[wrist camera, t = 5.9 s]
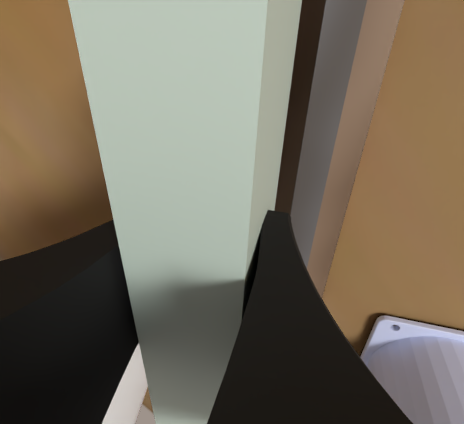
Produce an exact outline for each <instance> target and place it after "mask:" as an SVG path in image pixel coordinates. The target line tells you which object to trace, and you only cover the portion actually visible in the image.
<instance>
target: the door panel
mask: <svg viewBox="0 0 464 424" xmlns="http://www.w3.org/2000/svg"><path fill="white" fill-rule="evenodd" d="M68 2H69V7H70V12H71V17H72V22H73V27H74V31H75V36H76V41H77V46H78V51H79V56H80V60H81V65H82V70H83V75H84V80H85V85H86V89H87V94H88V99H89V104H90V109H91V114H92V118H93V123H94V128H95V133H96V138H97V143H98V147H99V152H100V157H101V162H102V167H103V171H104V176H105V181H106V186H107V191H108V196H109V200H110V205H111V210H112V215H113V220H114V225H115V229H116V234H117V239H118V244H119V249H120V254H121V258H122V263H123V268H124V273H125V278H126V283H127V287H128V292H129V297H130V302H131V307H132V311H133V316H134V321H135V326H136V331H137V336H138V340H139V345H140V350H141V355H142V360H143V365H144V369H145V374H146V379H147V384H148V389H149V394H150V398H151V403H152V408H153V413H154V418H155V422H156V424H207V422H208V419H209V416H210V414H211V411H212V408H213V405H214V402H215V399H216V397H217V394H218V391H219V388H220V385H221V383H222V380H223V377H224V374H225V371H226V368H227V365H228V362H229V359H230V356H231V353H232V350H233V347H234V344H235V341H236V338H237V335H238V332H239V329H240V326H241V322H242V319H243V316H244V313H245V309H246V306H247V303H248V300H249V296H250V293H251V289H252V286H253V283H254V279H255V276H256V270H257V265H258V257H259V248H260V240H261V231H262V224H263V221H264V218H265V215H266V213H267V211H268V210H272V211H274V210H275V202H276V194H277V187H278V179H279V172H280V164H281V156H282V149H283V141H284V133H285V126H286V118H287V111H288V103H289V95H290V88H291V80H292V73H293V65H294V57H295V50H296V42H297V34H298V27H299V19H300V12H301V4H302V0H68Z"/></svg>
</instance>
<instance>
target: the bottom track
mask: <svg viewBox="0 0 464 424" xmlns="http://www.w3.org/2000/svg"><path fill="white" fill-rule="evenodd" d="M404 1H405V0H302V4H301V12H300V19H299V27H298V34H297V42H296V50H295V57H294V65H293V73H292V80H291V88H290V95H289V103H288V111H287V118H286V126H285V133H284V141H283V149H282V156H281V164H280V172H279V179H278V187H277V194H276V202H275V210H274V211H279V212H285V213H288V214H289V215H290V216H291V223H292V228H293V232H294V236H295V239H296V242H297V245H298V248H299V251H300V253H301V256H302V259H303V261H304V264H305V266H306V268H307V271H308V273H309V275H310V277H311V279H312V281H313V283H314V285H315V287H316V289H317V291H318V293H319V295H320V297H321V298H322V296H323V292H324V289H325V285H326V282H327V278H328V274H329V271H330V267H331V264H332V260H333V256H334V253H335V249H336V246H337V242H338V238H339V235H340V231H341V228H342V224H343V220H344V217H345V213H346V210H347V206H348V202H349V199H350V195H351V192H352V188H353V184H354V181H355V177H356V174H357V170H358V166H359V163H360V159H361V156H362V152H363V148H364V145H365V141H366V138H367V134H368V130H369V127H370V123H371V120H372V116H373V112H374V109H375V105H376V102H377V98H378V94H379V91H380V87H381V84H382V80H383V76H384V73H385V69H386V66H387V62H388V58H389V55H390V51H391V48H392V44H393V40H394V37H395V33H396V30H397V26H398V22H399V19H400V15H401V12H402V8H403V4H404Z"/></svg>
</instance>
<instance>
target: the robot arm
mask: <svg viewBox="0 0 464 424" xmlns="http://www.w3.org/2000/svg"><path fill="white" fill-rule="evenodd" d="M138 343H139V340H138V336H137V331H136V326H135V321H134V316H133V311H132V307H131V302H130V297H129V292H128V287H127V283H126V278H125V273H124V268H123V263H122V258H121V254H120V249H119V244H118V239H117V234H116V229H115V225H114V220H112V221H109V222H107V223H105V224H103V225H100V226H98V227H96V228H94V229H91V230H89V231H87V232H84V233H82V234H80V235H78V236H75V237H73V238H70V239H67V240H65V241H62V242H60V243H57V244H54V245H51V246H48V247H45V248H43V249H40V250H37V251H34V252H31V253H28V254H24V255H21V256H17V257H14V258H10V259H7V260H3V261H0V424H102V422H103V420H104V417H105V415H106V413H107V411H108V408H109V406H110V404H111V401H112V399H113V397H114V394H115V392H116V390H117V388H118V385H119V383H120V381H121V379H122V376H123V374H124V372H125V370H126V368H127V366H128V364H129V361H130V359H131V357H132V355H133V353H134V351H135V349H136V347H137V345H138ZM207 424H464V331H460V330H455V329H450V328H445V327H440V326H435V325H430V324H426V323H421V322H416V321H411V320H406V319H401V318H396V317H391V316H385V315H384V316H380V317H378V318H377V319H376V322H375V324H374V326H373V329H372V331H371V333H370V335H369V338H368V340H367V342H366V345H365V347H364V349H363V352H362V354H361V356H359V355H358V354H357V352H356V351H355V350H354V348H353V347H352V345H351V344H350V343H349V341H348V340H347V339H346V337H345V336H344V334H343V333H342V331H341V330H340V328H339V326H338V325H337V323H336V322H335V320H334V319H333V317H332V315H331V314H330V312H329V310H328V309H327V307H326V305H325V304H324V302H323V300H322V298H321V297H320V295H319V293H318V291H317V289H316V287H315V285H314V283H313V281H312V279H311V277H310V275H309V273H308V271H307V268H306V266H305V264H304V261H303V259H302V256H301V253H300V251H299V248H298V245H297V242H296V239H295V236H294V232H293V228H292V223H291V216H290V215H289V214H288V213H285V212H279V211H272V210H268V211H267V213H266V215H265V218H264V221H263V224H262V231H261V240H260V248H259V257H258V265H257V270H256V276H255V279H254V283H253V286H252V289H251V293H250V296H249V300H248V303H247V306H246V309H245V313H244V316H243V319H242V322H241V326H240V329H239V332H238V335H237V338H236V341H235V344H234V347H233V350H232V353H231V356H230V359H229V362H228V365H227V368H226V371H225V374H224V377H223V380H222V383H221V385H220V388H219V391H218V394H217V397H216V399H215V402H214V405H213V408H212V411H211V414H210V416H209V419H208V422H207Z"/></svg>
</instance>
